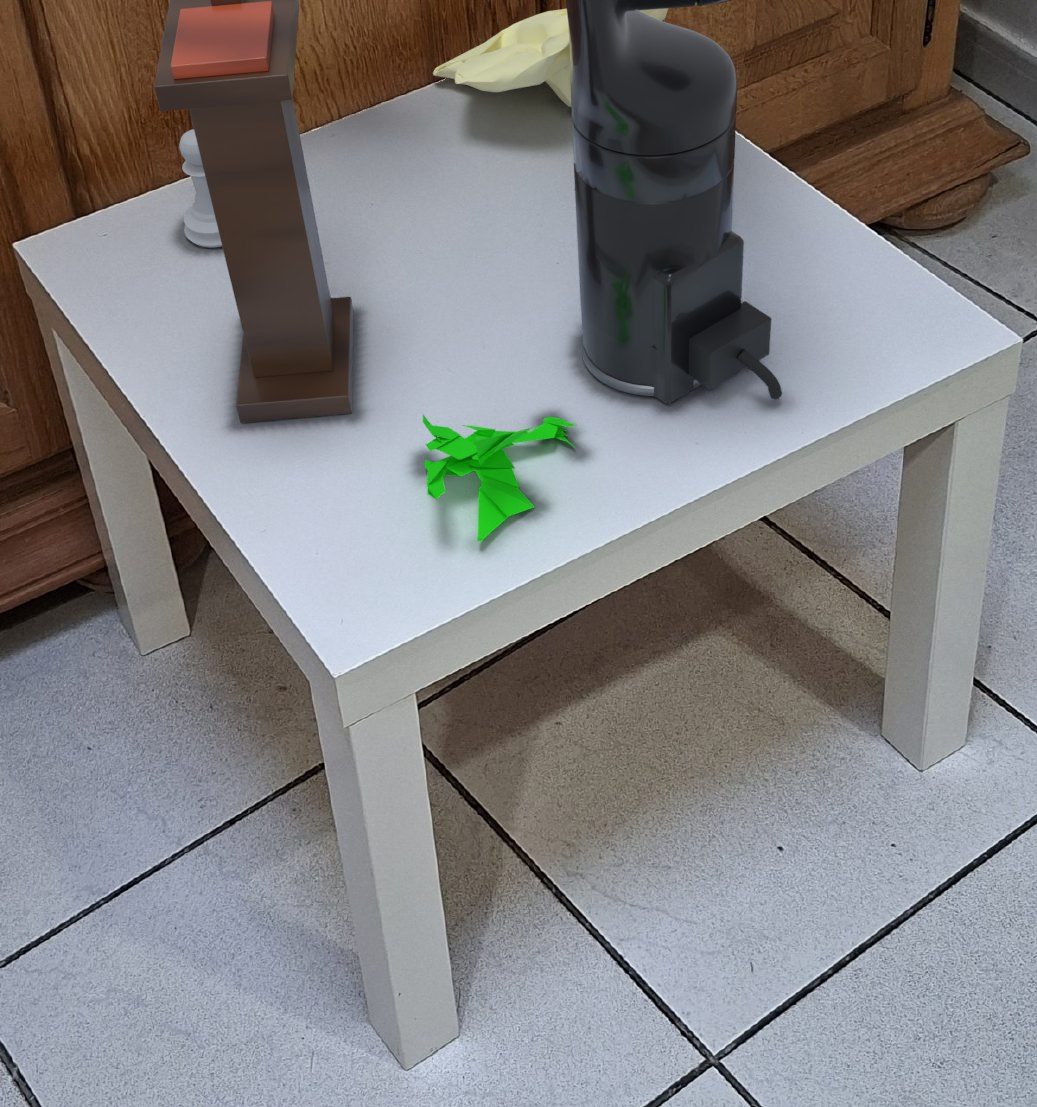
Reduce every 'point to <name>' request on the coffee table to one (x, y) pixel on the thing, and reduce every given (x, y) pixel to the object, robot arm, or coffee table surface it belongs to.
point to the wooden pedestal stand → (267, 228)
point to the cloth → (522, 56)
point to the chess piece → (198, 197)
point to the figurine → (486, 466)
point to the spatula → (223, 39)
